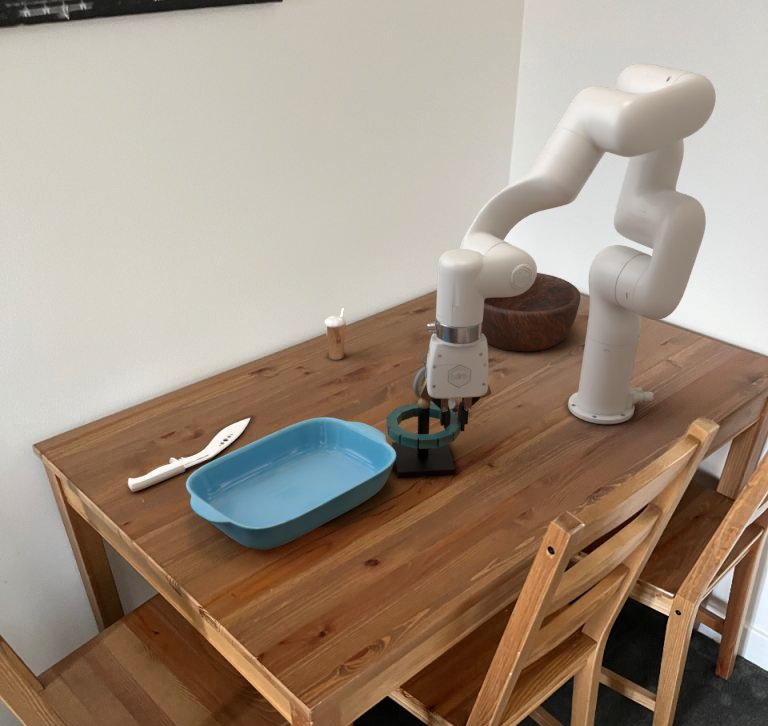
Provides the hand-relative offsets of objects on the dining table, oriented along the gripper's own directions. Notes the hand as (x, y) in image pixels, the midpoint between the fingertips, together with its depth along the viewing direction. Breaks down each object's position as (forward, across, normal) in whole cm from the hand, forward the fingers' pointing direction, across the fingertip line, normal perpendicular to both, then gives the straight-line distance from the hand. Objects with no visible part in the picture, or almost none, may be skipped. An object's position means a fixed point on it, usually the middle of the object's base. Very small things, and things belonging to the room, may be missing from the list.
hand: (453, 427), depth 148 cm
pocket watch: (+7, 0, +20) cm, 21 cm away
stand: (+7, -5, 0) cm, 8 cm away
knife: (+7, -46, +7) cm, 47 cm away
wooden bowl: (+7, +24, +51) cm, 57 cm away
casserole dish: (+7, -28, -10) cm, 30 cm away
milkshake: (+7, -18, +44) cm, 48 cm away
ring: (0, -5, 0) cm, 5 cm away
